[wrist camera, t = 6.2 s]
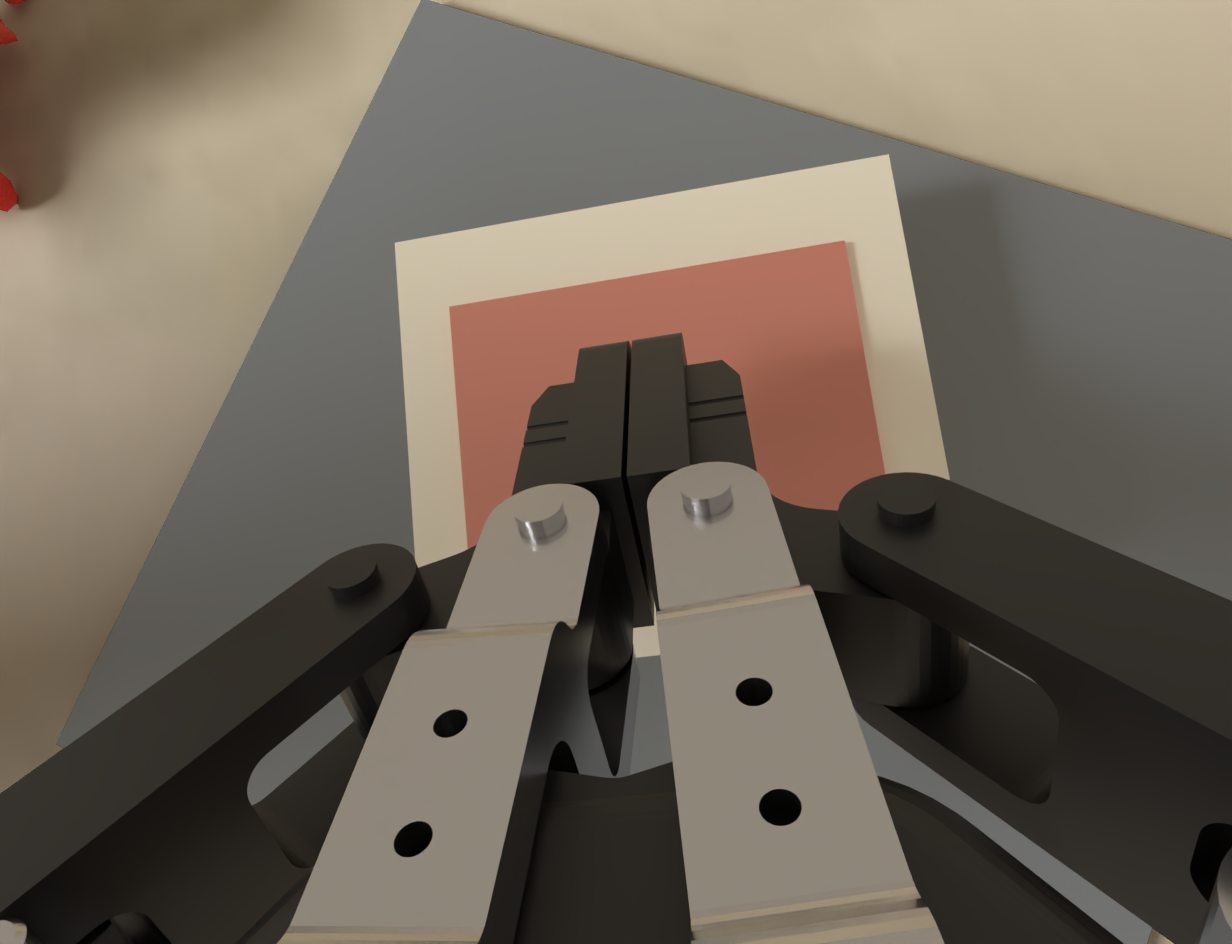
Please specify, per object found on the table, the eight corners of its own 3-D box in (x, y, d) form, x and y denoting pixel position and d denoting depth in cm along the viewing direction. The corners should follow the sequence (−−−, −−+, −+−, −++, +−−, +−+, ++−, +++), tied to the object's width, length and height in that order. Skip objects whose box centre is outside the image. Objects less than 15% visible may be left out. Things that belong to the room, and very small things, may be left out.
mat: (70, 741, 19) (55, 744, 18) (428, 10, 21) (422, -2, 20) (1020, 1271, 15) (1027, 1289, 14) (1360, 291, 16) (1374, 282, 16)
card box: (978, 619, 14) (890, 149, 15) (419, 681, 15) (391, 239, 16) (944, 622, 16) (871, 217, 18) (468, 675, 17) (439, 291, 19)
